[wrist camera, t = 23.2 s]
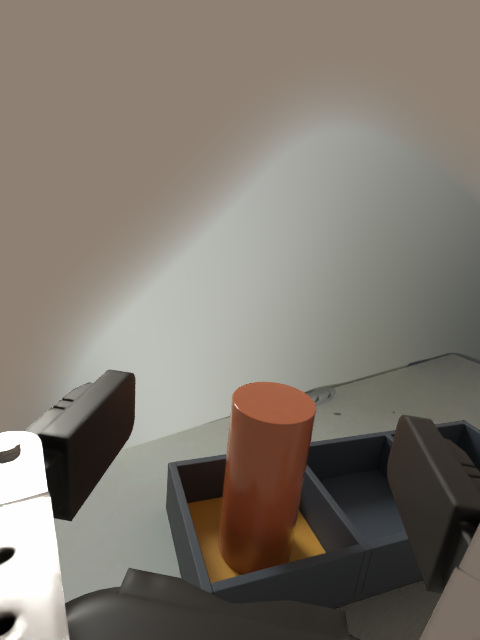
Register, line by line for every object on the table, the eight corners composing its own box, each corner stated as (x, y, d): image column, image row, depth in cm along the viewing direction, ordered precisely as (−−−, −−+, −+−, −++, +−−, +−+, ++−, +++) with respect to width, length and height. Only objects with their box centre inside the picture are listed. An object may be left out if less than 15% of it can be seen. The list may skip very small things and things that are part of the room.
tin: (231, 587, 25) (250, 429, 22) (209, 522, 30) (221, 384, 26) (304, 567, 27) (332, 419, 23) (272, 509, 32) (292, 379, 28)
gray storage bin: (197, 653, 22) (203, 595, 20) (165, 507, 32) (168, 462, 30) (560, 534, 33) (578, 492, 32) (453, 454, 43) (463, 420, 42)
